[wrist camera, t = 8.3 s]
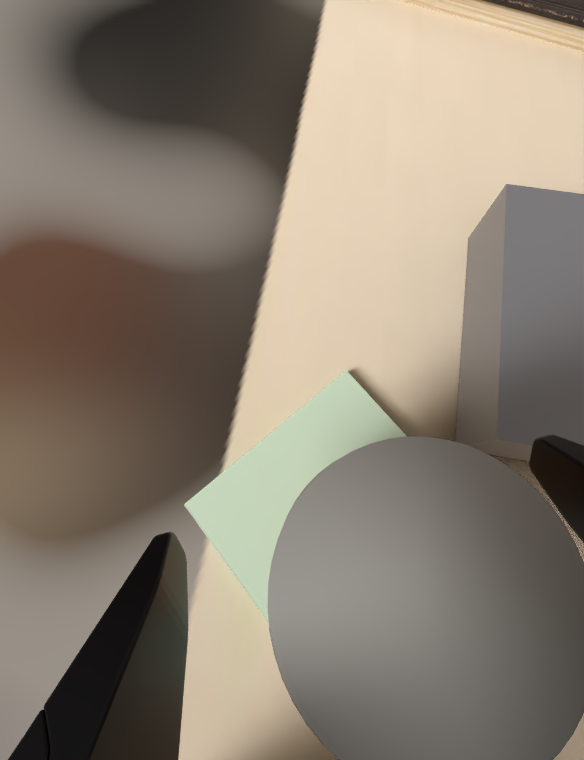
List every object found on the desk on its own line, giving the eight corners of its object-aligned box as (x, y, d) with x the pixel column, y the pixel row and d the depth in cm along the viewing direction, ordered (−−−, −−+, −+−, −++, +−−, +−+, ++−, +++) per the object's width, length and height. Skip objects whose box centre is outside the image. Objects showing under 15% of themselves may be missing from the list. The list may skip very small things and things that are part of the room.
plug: (407, 495, 17) (634, 524, 5) (366, 595, 16) (539, 890, 4) (317, 449, 18) (350, 387, 6) (271, 542, 17) (207, 679, 5)
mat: (490, 533, 17) (497, 535, 17) (326, 696, 16) (327, 705, 15) (344, 373, 19) (346, 370, 19) (187, 503, 18) (183, 504, 17)
